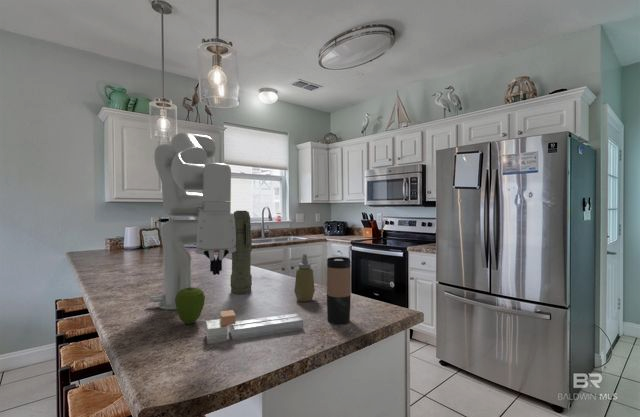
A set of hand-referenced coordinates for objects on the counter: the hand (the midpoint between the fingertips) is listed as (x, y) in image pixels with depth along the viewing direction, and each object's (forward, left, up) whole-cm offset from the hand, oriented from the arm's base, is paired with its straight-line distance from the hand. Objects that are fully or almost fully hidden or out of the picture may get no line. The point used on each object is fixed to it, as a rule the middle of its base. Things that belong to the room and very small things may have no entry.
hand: (215, 273), depth 89 cm
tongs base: (+11, 0, -18) cm, 21 cm away
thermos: (+15, +47, -18) cm, 52 cm away
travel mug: (+38, -1, -18) cm, 42 cm away
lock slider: (+3, 0, -14) cm, 14 cm away
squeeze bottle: (+36, +25, -18) cm, 47 cm away
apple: (-6, +15, -18) cm, 24 cm away
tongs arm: (+14, +1, -18) cm, 23 cm away
